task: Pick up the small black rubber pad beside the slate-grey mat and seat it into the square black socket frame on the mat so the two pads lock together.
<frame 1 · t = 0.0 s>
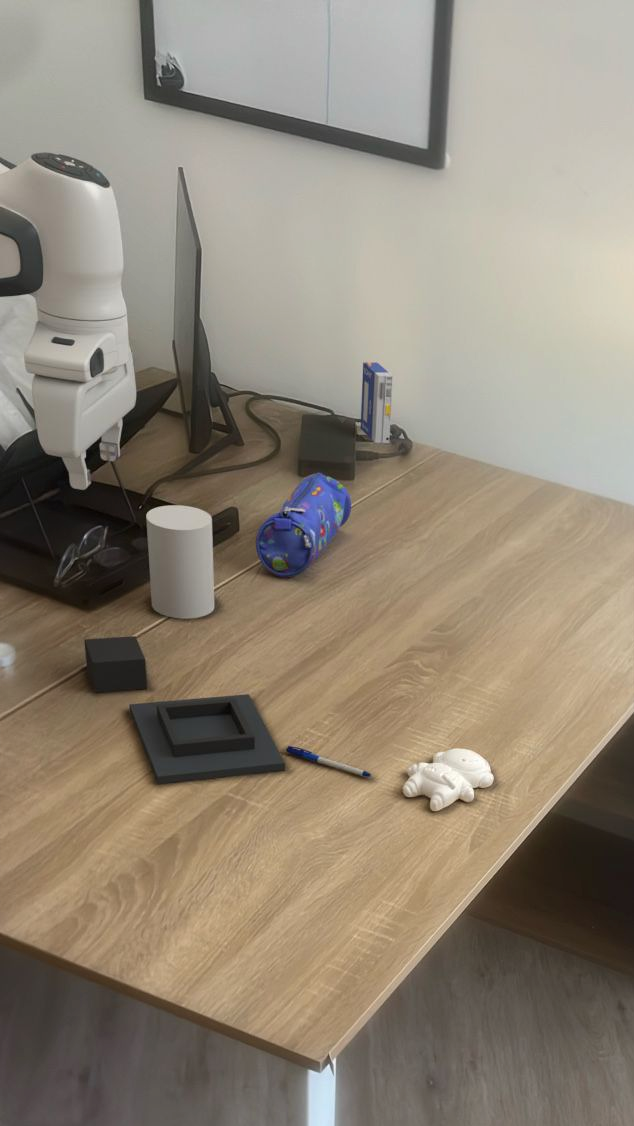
hand: (96, 472, 141), 24 cm above the table, tool pointing down, fingers open, 8 cm apart
cup: (183, 606, 171), on the table
ballpoint pen: (328, 766, 145), on the table
pencil case: (304, 554, 189), on the table
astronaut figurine: (446, 785, 145), on the table
walkman: (374, 437, 234), on the table
socket mat: (205, 740, 146), on the table
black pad: (117, 679, 153), on the table
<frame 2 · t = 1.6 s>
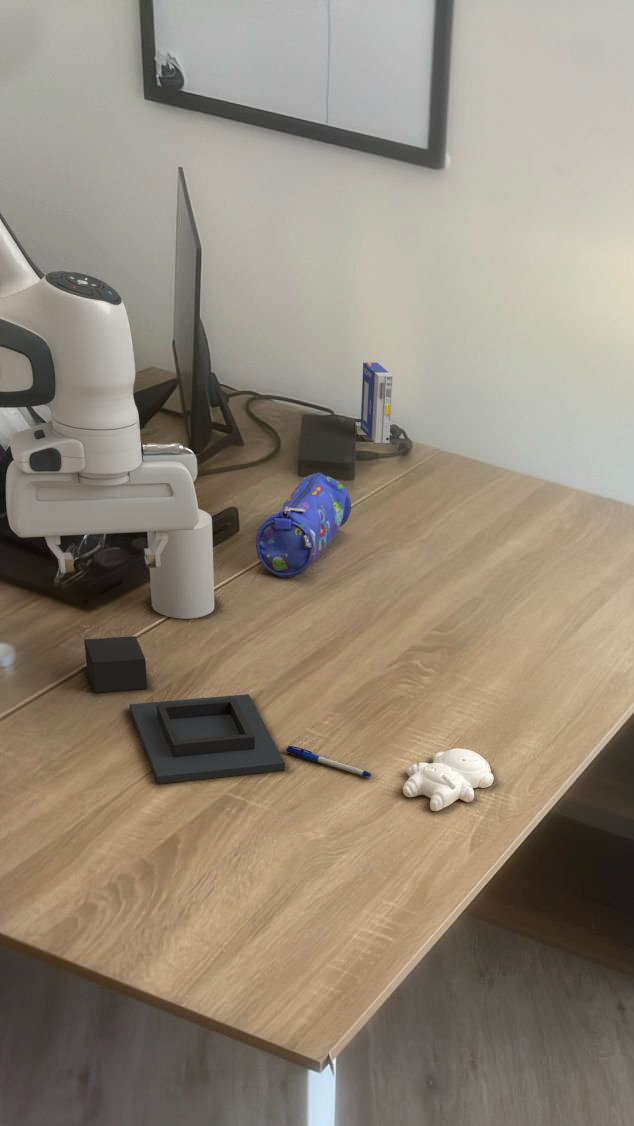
hand: (110, 568, 145), 14 cm above the table, tool pointing down, fingers open, 8 cm apart
nothing on the table moved.
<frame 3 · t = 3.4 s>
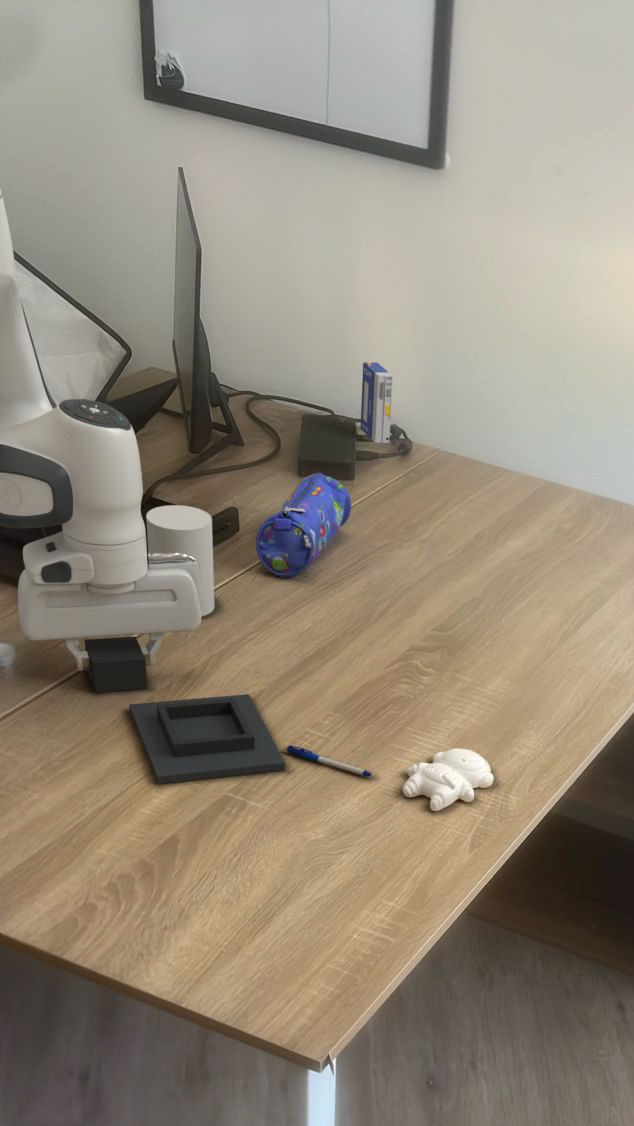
hand: (115, 666, 152), 2 cm above the table, tool pointing down, fingers closed on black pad, 6 cm apart
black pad: (117, 679, 154), on the table, touching gripper
everything else where it was.
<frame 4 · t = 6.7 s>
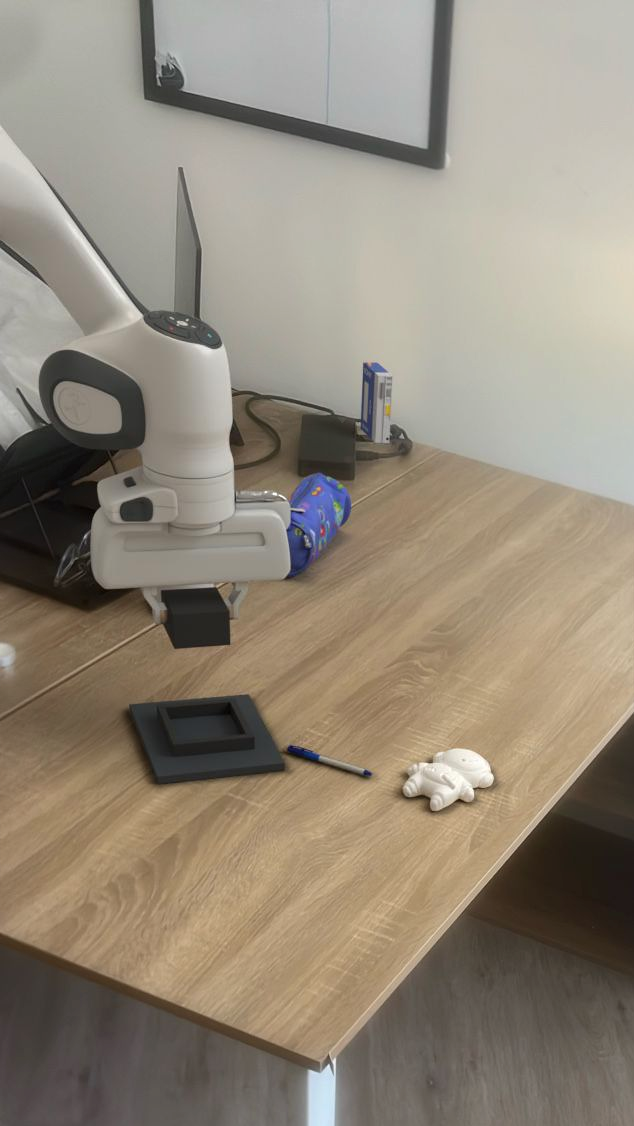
hand: (195, 619, 137), 14 cm above the table, tool pointing down, fingers closed on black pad, 6 cm apart
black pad: (196, 634, 138), point 13 cm above the table, touching gripper
everything else where it was.
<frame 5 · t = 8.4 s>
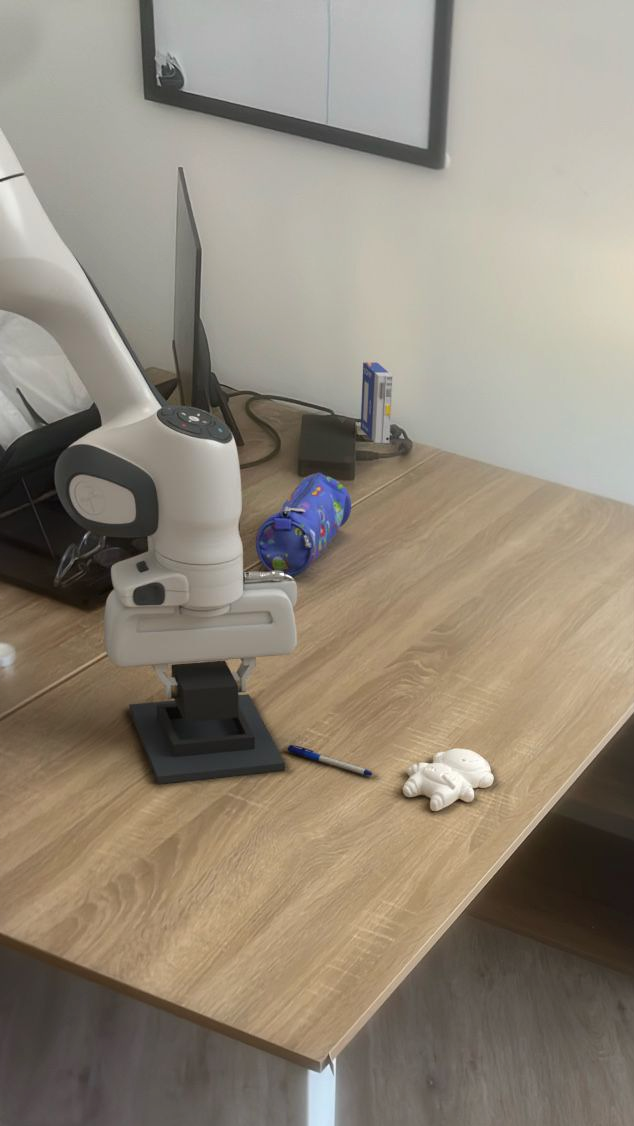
hand: (204, 693, 142), 6 cm above the table, tool pointing down, fingers closed on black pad, 6 cm apart
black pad: (205, 707, 143), point 4 cm above the table, touching gripper
everything else where it was.
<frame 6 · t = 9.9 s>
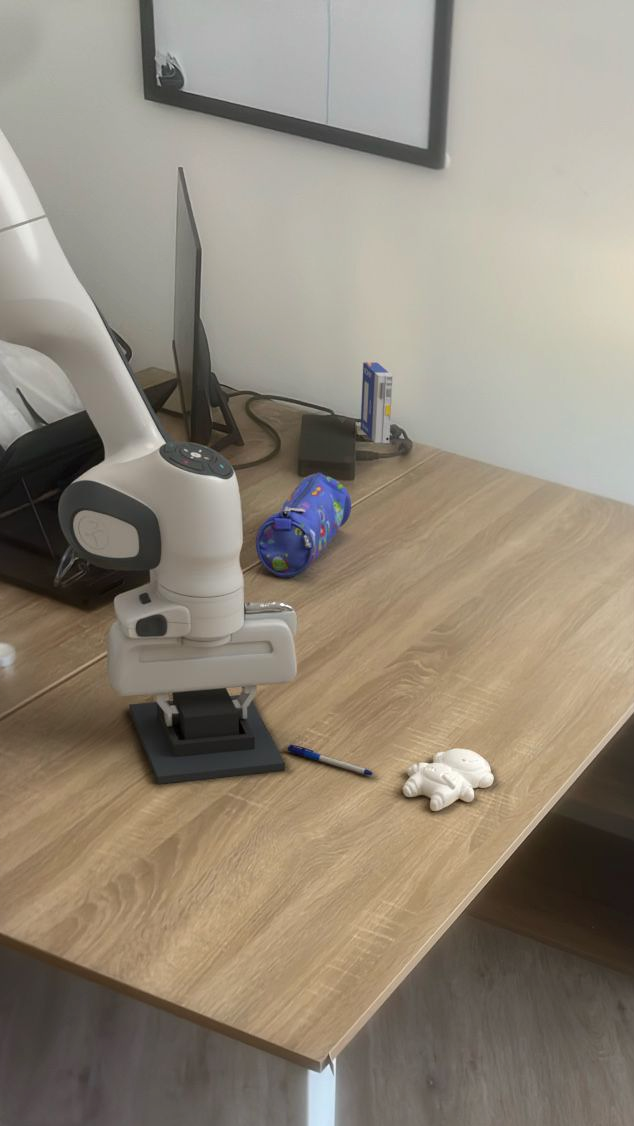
hand: (206, 720, 144), 3 cm above the table, tool pointing down, fingers closed on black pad, 6 cm apart
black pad: (206, 732, 145), point 1 cm above the table, touching gripper, socket mat
everything else where it was.
when the fingers open (3 cm above the table, at t = 9.9 s): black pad stays where it is, resting on socket mat.
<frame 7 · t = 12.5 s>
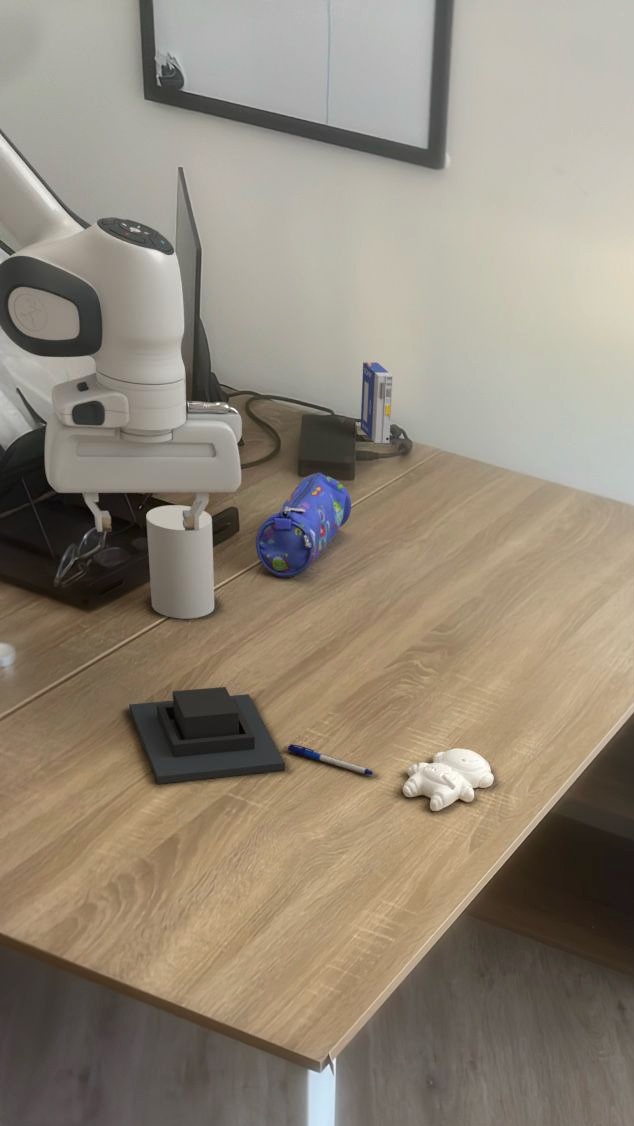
hand: (147, 529, 141), 20 cm above the table, tool pointing down, fingers open, 8 cm apart
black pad: (206, 732, 145), point 1 cm above the table, touching socket mat
everything else where it was.
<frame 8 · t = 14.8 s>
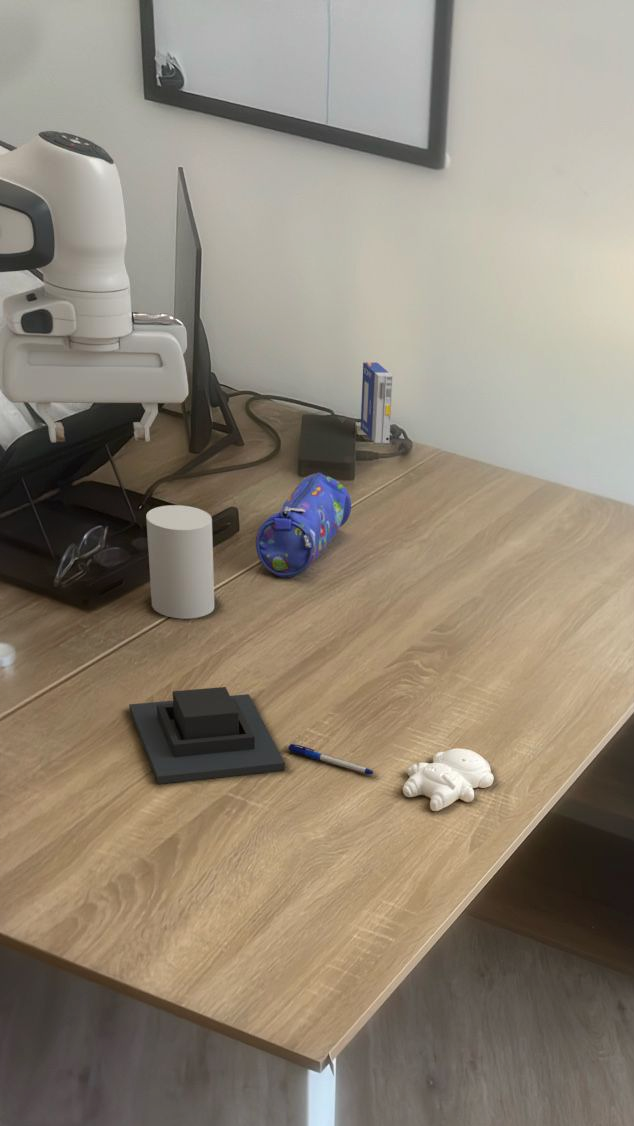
hand: (100, 440, 147), 24 cm above the table, tool pointing down, fingers open, 8 cm apart
nothing on the table moved.
at the end: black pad 0.1 cm off-centre on the socket mat, point 1.0 cm above the socket mat's base; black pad tilted 0°; the gripper is holding nothing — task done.
